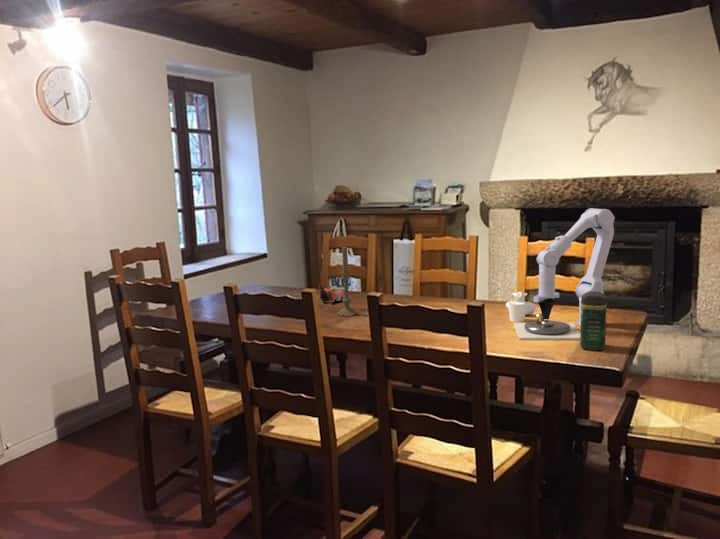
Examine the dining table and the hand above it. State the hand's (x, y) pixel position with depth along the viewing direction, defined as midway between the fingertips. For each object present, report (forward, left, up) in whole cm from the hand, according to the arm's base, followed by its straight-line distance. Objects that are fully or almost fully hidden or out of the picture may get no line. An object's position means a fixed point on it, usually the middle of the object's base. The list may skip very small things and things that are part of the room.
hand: (546, 318), depth 232 cm
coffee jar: (-12, +24, -4) cm, 27 cm away
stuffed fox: (+92, -53, -4) cm, 106 cm away
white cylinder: (+9, -15, -4) cm, 18 cm away
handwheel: (0, +4, -3) cm, 5 cm away
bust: (+7, -24, -4) cm, 25 cm away
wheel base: (0, +4, -4) cm, 6 cm away
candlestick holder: (+80, -26, -4) cm, 84 cm away
